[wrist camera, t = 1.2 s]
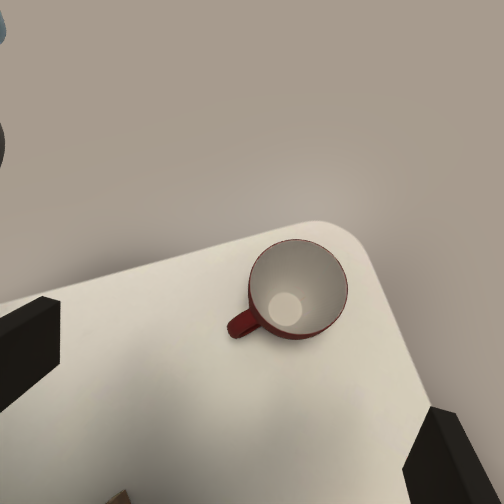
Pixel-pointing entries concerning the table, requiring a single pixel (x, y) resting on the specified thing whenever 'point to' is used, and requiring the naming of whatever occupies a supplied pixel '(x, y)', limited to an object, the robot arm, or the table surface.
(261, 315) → the mug
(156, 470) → the table surface
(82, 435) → the table surface
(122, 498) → the shelf
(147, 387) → the table surface
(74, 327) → the table surface
